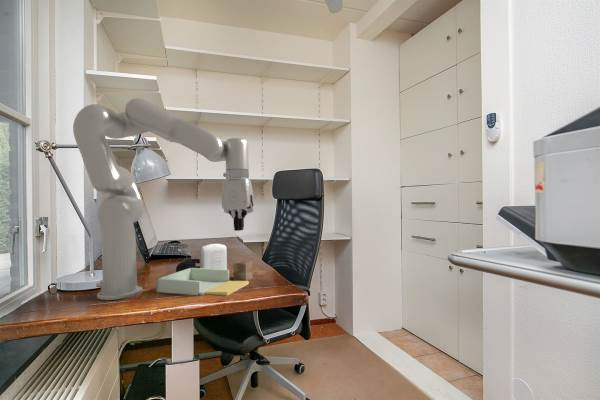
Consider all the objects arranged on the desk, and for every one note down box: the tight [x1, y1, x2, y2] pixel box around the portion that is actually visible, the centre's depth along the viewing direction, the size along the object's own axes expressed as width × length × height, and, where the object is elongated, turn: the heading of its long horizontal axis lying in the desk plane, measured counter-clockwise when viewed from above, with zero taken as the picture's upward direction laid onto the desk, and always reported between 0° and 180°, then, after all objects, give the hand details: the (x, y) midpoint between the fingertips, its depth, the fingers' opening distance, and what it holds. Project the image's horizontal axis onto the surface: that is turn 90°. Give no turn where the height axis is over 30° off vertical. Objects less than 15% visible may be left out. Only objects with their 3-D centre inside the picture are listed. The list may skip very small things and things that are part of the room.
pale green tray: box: [155, 267, 232, 296], centre depth 106 cm, size 17×17×5 cm
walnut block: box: [232, 260, 254, 281], centre depth 115 cm, size 5×5×7 cm
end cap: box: [175, 257, 201, 273], centre depth 125 cm, size 10×7×7 cm
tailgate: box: [203, 280, 250, 297], centre depth 103 cm, size 1×14×8 cm
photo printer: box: [200, 243, 228, 270], centre depth 126 cm, size 10×4×12 cm, turn 125°
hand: (238, 230), depth 108 cm, fingers closed
